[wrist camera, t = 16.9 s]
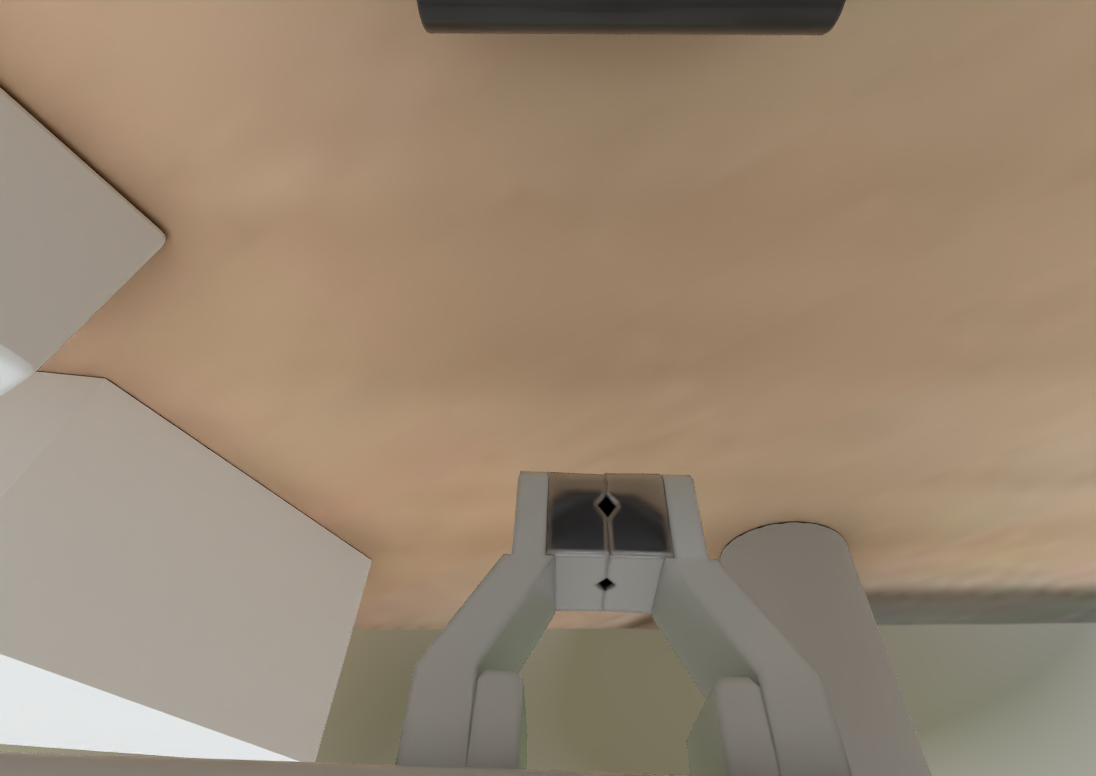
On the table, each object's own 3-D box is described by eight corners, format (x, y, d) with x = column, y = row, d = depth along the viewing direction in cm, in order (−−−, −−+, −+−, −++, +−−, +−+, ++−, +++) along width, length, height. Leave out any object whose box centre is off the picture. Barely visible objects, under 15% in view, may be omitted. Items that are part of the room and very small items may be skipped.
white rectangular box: (332, 607, 38) (272, 796, 31) (-257, 436, 28) (-560, 654, 21) (423, 499, 29) (371, 724, 22) (-379, 195, 19) (-973, 419, 12)
